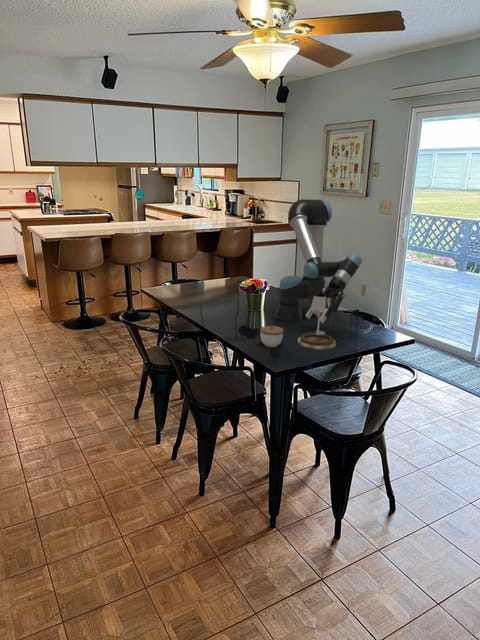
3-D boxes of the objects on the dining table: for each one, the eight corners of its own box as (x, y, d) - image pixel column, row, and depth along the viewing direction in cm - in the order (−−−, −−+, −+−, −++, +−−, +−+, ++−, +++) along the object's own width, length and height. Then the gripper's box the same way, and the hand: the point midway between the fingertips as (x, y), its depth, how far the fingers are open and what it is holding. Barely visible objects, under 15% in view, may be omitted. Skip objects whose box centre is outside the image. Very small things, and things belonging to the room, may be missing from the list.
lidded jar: (284, 348, 218) (285, 329, 216) (261, 349, 217) (262, 329, 215) (280, 341, 228) (281, 322, 226) (258, 341, 228) (259, 322, 225)
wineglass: (322, 336, 220) (325, 298, 215) (306, 333, 224) (308, 296, 219) (329, 332, 227) (332, 295, 222) (313, 329, 231) (315, 292, 226)
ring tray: (294, 347, 221) (295, 341, 220) (300, 335, 238) (300, 330, 237) (334, 351, 217) (334, 345, 216) (337, 339, 233) (337, 334, 233)
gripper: (360, 290, 221) (334, 329, 216) (326, 282, 237) (301, 318, 231) (354, 280, 217) (327, 319, 211) (319, 273, 232) (294, 309, 227)
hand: (314, 319), depth 221 cm, fingers closed on wineglass, 8 cm apart
